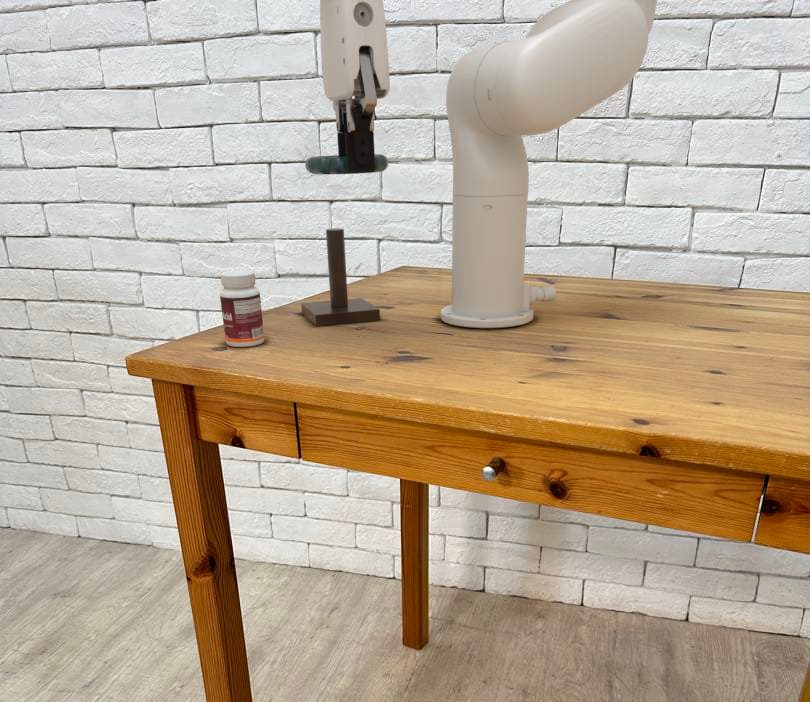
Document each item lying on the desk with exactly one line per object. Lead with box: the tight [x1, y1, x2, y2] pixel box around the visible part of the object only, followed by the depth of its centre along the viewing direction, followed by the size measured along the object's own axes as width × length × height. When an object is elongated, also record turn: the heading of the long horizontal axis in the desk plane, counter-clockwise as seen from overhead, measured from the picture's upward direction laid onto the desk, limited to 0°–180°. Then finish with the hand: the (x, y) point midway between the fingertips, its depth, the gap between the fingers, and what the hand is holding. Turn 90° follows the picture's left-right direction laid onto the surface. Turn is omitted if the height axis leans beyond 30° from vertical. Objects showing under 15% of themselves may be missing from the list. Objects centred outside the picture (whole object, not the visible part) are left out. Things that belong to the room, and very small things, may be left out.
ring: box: [305, 153, 389, 175], centre depth 91 cm, size 10×10×2 cm
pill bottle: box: [219, 269, 265, 348], centre depth 93 cm, size 5×5×8 cm
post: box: [300, 227, 381, 327], centre depth 105 cm, size 9×9×12 cm
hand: (357, 170), depth 88 cm, fingers closed on ring, 2 cm apart
